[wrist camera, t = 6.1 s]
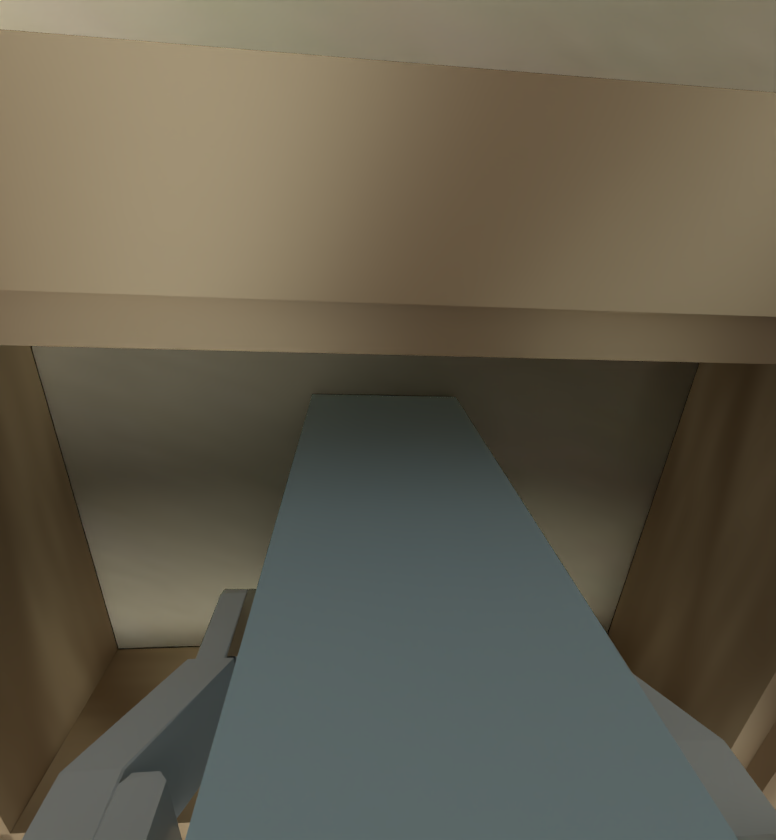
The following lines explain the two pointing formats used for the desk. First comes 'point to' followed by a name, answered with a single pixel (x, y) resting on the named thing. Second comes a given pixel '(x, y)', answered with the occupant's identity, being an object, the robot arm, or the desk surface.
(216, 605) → the robot arm
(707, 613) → the brown wooden rectangular frame
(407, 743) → the block
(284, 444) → the desk surface
